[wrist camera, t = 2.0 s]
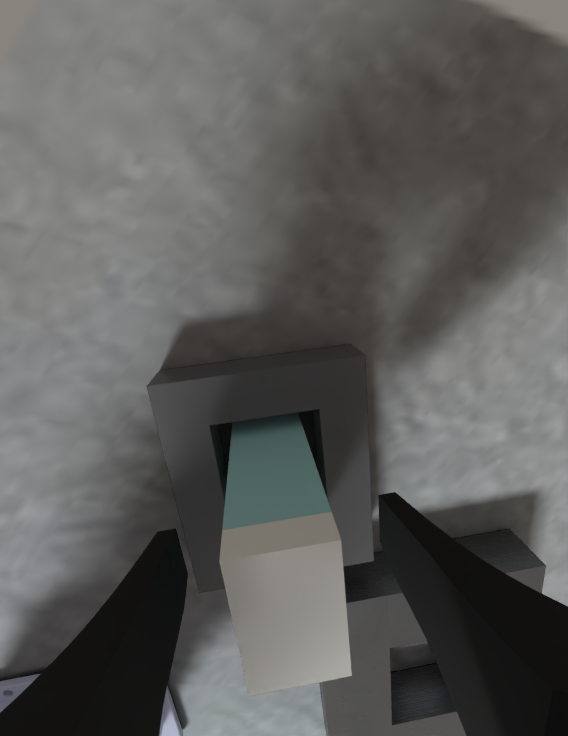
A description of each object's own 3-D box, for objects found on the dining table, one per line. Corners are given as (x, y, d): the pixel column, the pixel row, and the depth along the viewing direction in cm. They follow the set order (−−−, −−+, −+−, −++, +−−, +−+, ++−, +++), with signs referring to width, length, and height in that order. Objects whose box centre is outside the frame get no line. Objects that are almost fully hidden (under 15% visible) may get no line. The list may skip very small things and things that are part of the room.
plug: (248, 505, 17) (249, 696, 10) (232, 417, 16) (219, 561, 8) (306, 496, 17) (351, 675, 10) (296, 408, 16) (341, 539, 8)
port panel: (324, 723, 23) (334, 783, 20) (305, 565, 19) (314, 615, 16) (491, 688, 24) (522, 741, 21) (509, 528, 20) (550, 570, 17)
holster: (204, 557, 18) (199, 592, 16) (159, 370, 15) (146, 386, 13) (360, 530, 18) (373, 560, 17) (350, 344, 15) (365, 355, 13)
